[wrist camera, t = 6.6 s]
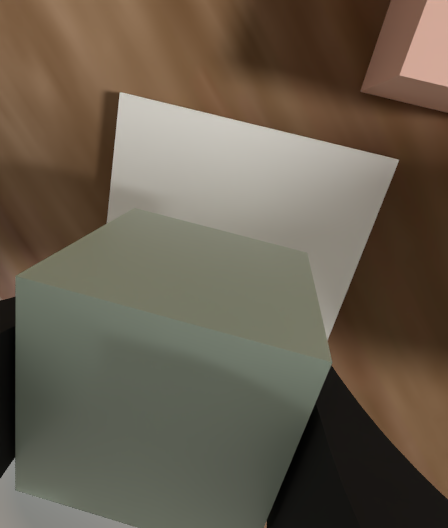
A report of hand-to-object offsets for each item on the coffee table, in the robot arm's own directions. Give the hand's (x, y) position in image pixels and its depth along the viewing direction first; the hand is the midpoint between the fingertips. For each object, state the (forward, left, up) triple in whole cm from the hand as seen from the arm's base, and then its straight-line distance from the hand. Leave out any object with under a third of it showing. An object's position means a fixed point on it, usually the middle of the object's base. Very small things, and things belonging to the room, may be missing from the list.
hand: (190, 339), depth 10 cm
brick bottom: (0, 0, -2) cm, 2 cm away
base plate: (0, 0, -8) cm, 8 cm away
